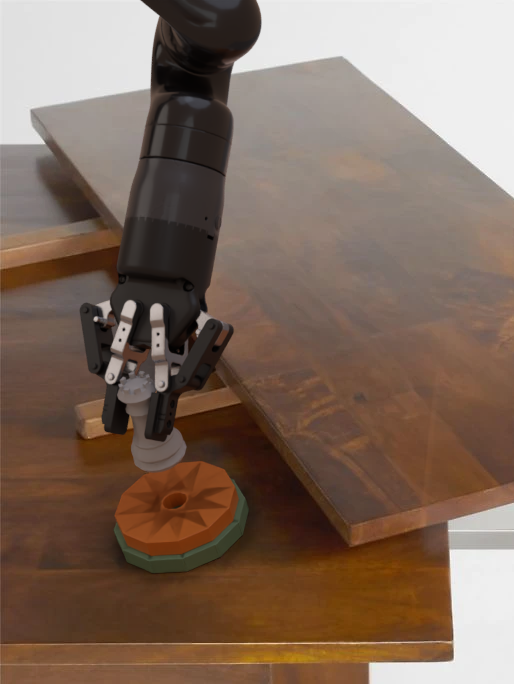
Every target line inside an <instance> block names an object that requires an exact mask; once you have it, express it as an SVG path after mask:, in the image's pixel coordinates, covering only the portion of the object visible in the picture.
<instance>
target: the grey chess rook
mask: <svg viewBox="0 0 514 684" xmlns="http://www.w3.org/2000/svg"><path fill="white" fill-rule="evenodd" d="M128 374H129V377H130V378H129V379H128V380H126V378H125V377H122V378H121V379H120V383H121V384H118V385H119V388H120V389H119V391H118V394H117V396H118V399H119V400H120V401H122V402H124V403H125V404H127V406H126V412H127V413H128V414H129V415H130V416H129V417H130V419H131V423H132V429H133V436H132V442H131V445H130V451H131V454H132V457H133V458H132V459H133V462H134V465H135V466H136V467H137V468H139V469H140V470H142V471H144V472H147V473H150V472H151V473H157V472H163V471H166V470H169V469H171V468H173V467H174V466H176V465H177V464H178V463H181V461H182V460H183V458H184V456H185V454H186V451H187V448H188V447H187V444H186V441H185V440H184V438H183V435H182V433H181V431H180V430H179V429H177V428H176V427H175V426H174V427H173V431H172V432H171V434H170V435H167V439H166V440H165V441H164V442H161V441H155V440H149V439H146V438H145V436H144V432H145V426H146V421H147V415H148V410H149V404H150V398H151V393H152V392H155V393H156V392H157V390H156V388H155V379H153V378H151V377H150V373H146V371H143V370H139V371H138V375H137V376H136V375H135V372H131V373H128Z"/></svg>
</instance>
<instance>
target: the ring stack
mask: <svg viewBox="0 0 514 684" xmlns="http://www.w3.org/2000/svg"><path fill="white" fill-rule="evenodd" d="M249 512H250V509H249V505H248V501H247V499H246V497H245V496H244V494H243V492H242V491H241V489H240V487H239V486H238V484H237V483H236V480H235V479H234V478H231V477H230V476H229V474H228V472H227V471H226V469H225V468H221V467H219V466H217V465H215V464H211V463H209V462H206V461H202V460H198V461H197V460H196V461H185V462H183V461H182V462H179V463H178V464H177V465H176V466H174V467H173V468H171V469H169V470H166V471H163V472H157V473H151V472H147V473H145V474H143V475H141V477H140V478H138V479H137V480H136V481H135V482H134V483H133V484H132V485H131V486H129V487H128V488H127V489H126V490H125V491H123V493H121V496H120V499H119V502H118V503H117V508H116V510H115V513H114V518H115V521H116V522H115V524H114V528H112V529H113V530H112V531H113V533H114V536H115V538H116V541H117V543H118V545H119V547H120V550H121V551H122V553H123V556H124V558H125V562H127V563H128V564H130V565H133V566H135V567H137V568H139V569H142V570H144V571H147V572H149V573H151V574H163V573H164V574H165V573H166V574H167V573H182V572H190V571H192V570H194V569H196V568H199V567H200V566H203V565H205V564H207V563H210V562H213V561H214V560H218V559H220V558H221V557H222V556H223V555H224V554H225V553H226V552H227V551H228V550H229V549H230V548H231V547H232V546H233V545H234V544H235V543H236V542H237V541H238V540H239V539H240V538H241V537H242V536H244V531H245V528H246V523H247V519H248V515H249Z"/></svg>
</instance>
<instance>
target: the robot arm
mask: <svg viewBox="0 0 514 684" xmlns="http://www.w3.org/2000/svg"><path fill="white" fill-rule="evenodd" d="M139 1H140V2H142V3H143V4H144V5H145V6H146V7H148V8H149V9H150V10H152V11H153V12H154V13H155V14H156V15H158V19H157V23H156V27H155V30H154V36H153V42H152V48H151V49H152V50H151V62H150V63H151V64H150V88H149V89H150V90H149V91H150V92H149V93H150V101H149V109H148V113H147V117H146V120H145V125H144V130H143V135H142V140H141V146H140V152H139V159H138V162H137V167H136V171H135V174H134V177H133V179H132V182H131V186H130V190H129V195H128V201H127V206H126V212H125V217H124V223H123V228H122V232H121V233H122V234H121V239H120V245H119V251H118V257H117V261H116V271H117V277H118V278H117V279H118V281H117V284H116V286H115V288H114V289H113V291H112V292H111V294H110V297H109V299H108V300H105V301H103V302H102V301H101V302H99V303H97V304H94V303H91V302H90V303H89V302H84V303H82V304H81V305H80V307H79V317H80V324H81V329H82V330H81V331H82V336H83V337H82V338H83V343H84V350H85V355H86V356H85V357H86V363H87V369H88V371H89V373H90V374H93V375H96V376H98V377H99V378H101V379H102V380H103V381H104V382H105V384H106V389H105V394H104V401H103V406H102V412H101V417H100V418H101V424H102V425H103V430H104V432H105V433H109V434H113V435H120V436H124V435H126V433H127V432H128V429H129V428H128V427H129V421H130V417H131V416H130V415H129V414H128V413H127V412H126V406H127V404H125V403H124V402H122V401H120V400H119V399H118V396H117V394H118V391H119V389H120V388H119V385H118V384H121V383H120V379H121V378H122V377H125V378H126V380H128V379H129V378H130V377H129V374H128V373H131V372H135V375H136V376H138V375H139V372H140V368H141V366H142V364H144V363H145V362H147V359H148V356H149V353H150V352H151V361H152V362H153V363H154V380H155V388H156V392H152V393H151V398H150V404H149V410H148V415H147V421H146V426H145V432H144V436H145V438H146V439H149V440H155V441H161V442H164V441H165V440H166V439H167V435H170V434H171V432H172V431H173V427H174V428H175V420H176V415H177V411H178V410H177V409H178V403H179V399H180V397H181V395H183V394H184V393H186V392H191V391H197V392H199V391H202V389H204V387H205V386H206V384H207V382H208V380H209V378H210V376H211V375H212V373H213V372H214V369H215V367H216V366H217V364H218V363H219V360H220V358H221V357H222V355H223V353H224V352H225V349H226V348H227V346H228V345H229V342H230V340H231V339H232V337H233V335H234V332H235V329H234V326H233V325H232V324H231V323H228V322H226V321H223V320H221V319H218V318H217V317H215V316H214V315H212V314H211V313H209V312H208V311H209V309H208V304H207V301H206V300H207V299H206V293H207V290H208V289H209V288H210V286H211V284H212V277H213V271H214V265H215V261H216V260H215V259H216V254H217V248H218V243H219V237H220V231H221V227H222V221H223V216H224V215H223V214H224V208H225V192H226V191H225V190H226V178H227V175H228V167H229V163H230V156H231V150H232V145H233V139H234V138H233V137H234V128H235V120H234V115H233V113H232V110H231V109H230V108H229V107H228V102H229V93H230V85H231V77H232V72H233V69H234V65H235V62H237V61H238V60H240V59H241V58H243V57H245V56H246V55H247V54H248V53H249V52H250V51H251V50H252V49H253V48H254V46H255V45H256V43H257V42H258V40H259V37H260V35H261V31H262V25H263V24H262V23H263V22H262V21H263V19H262V13H261V8H260V5H259V2H258V1H257V0H139ZM116 324H117V329H116V331H115V335H113V328H114V327H115V326H116ZM193 333H195V335H196V339H195V340H194V342H193V344H192V346H191V348H190V350H189V338H190V337H191V336H192V335H193ZM130 346H131V347H130Z"/></svg>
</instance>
